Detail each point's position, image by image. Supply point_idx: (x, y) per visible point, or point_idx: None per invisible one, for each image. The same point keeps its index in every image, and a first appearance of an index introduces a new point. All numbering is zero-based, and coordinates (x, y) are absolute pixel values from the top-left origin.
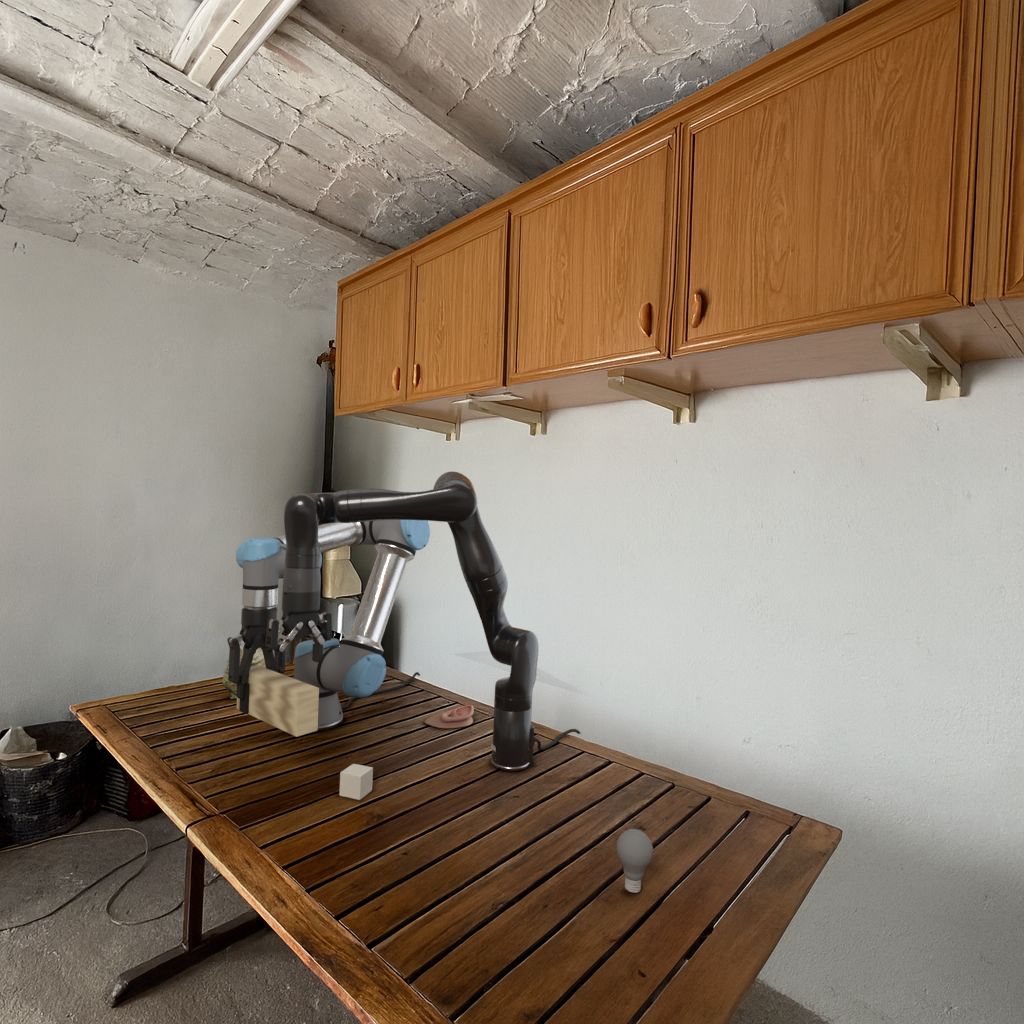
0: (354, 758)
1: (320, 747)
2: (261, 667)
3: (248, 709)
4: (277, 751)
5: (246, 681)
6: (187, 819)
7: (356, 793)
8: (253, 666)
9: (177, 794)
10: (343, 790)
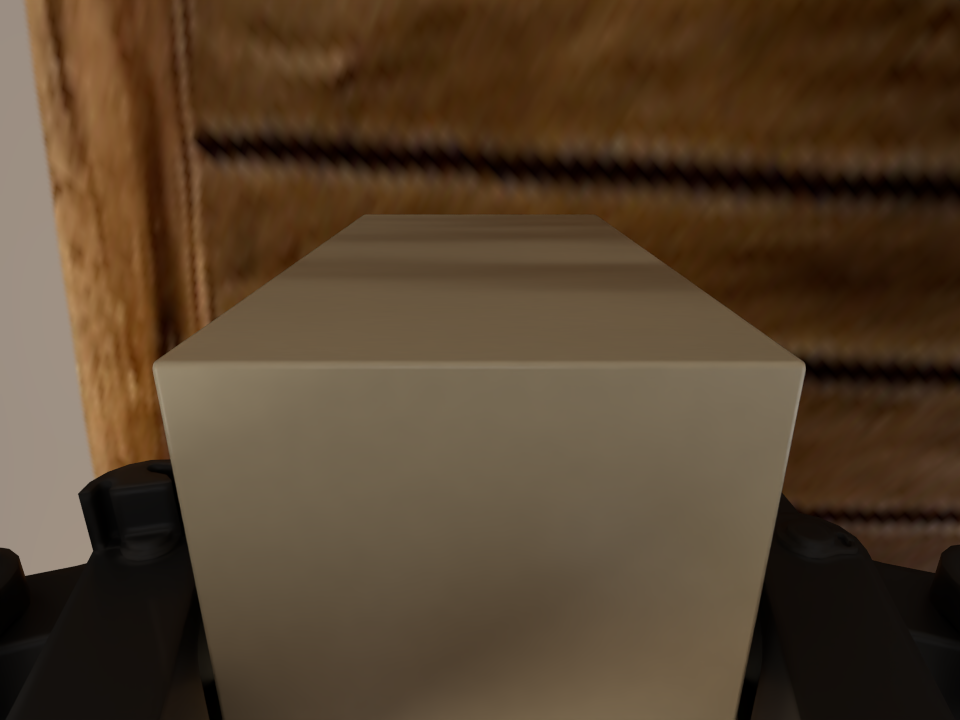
0: (888, 443)
1: (907, 215)
2: (708, 595)
3: None
4: (727, 88)
5: None
6: (107, 454)
7: None
8: (632, 383)
9: (124, 224)
10: None
